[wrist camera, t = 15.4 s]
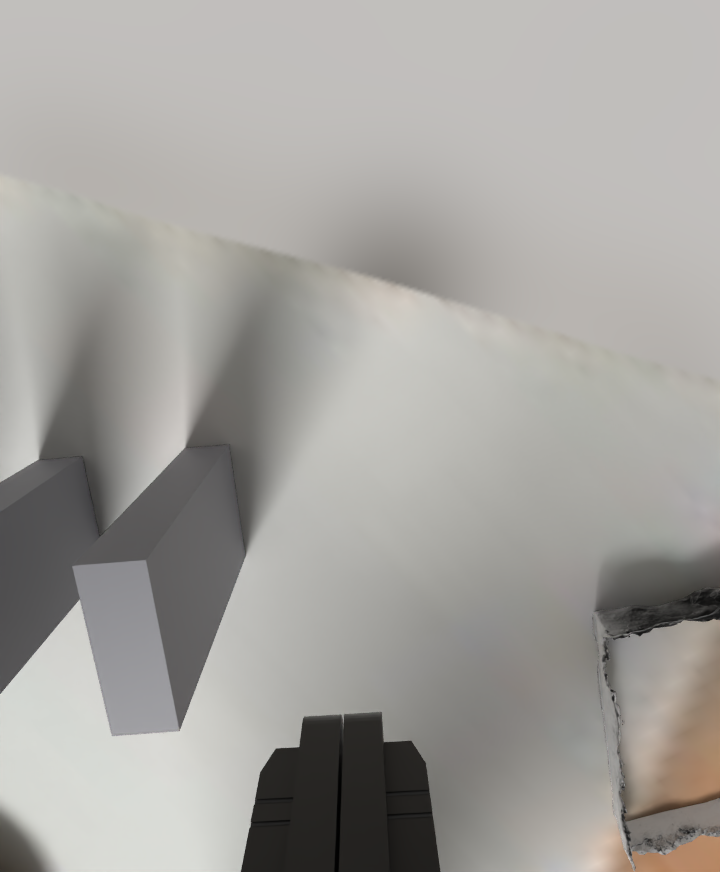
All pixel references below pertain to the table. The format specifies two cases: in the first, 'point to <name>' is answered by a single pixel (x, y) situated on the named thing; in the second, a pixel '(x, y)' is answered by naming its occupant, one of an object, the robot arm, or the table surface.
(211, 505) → the domino
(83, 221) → the table surface
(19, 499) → the domino
